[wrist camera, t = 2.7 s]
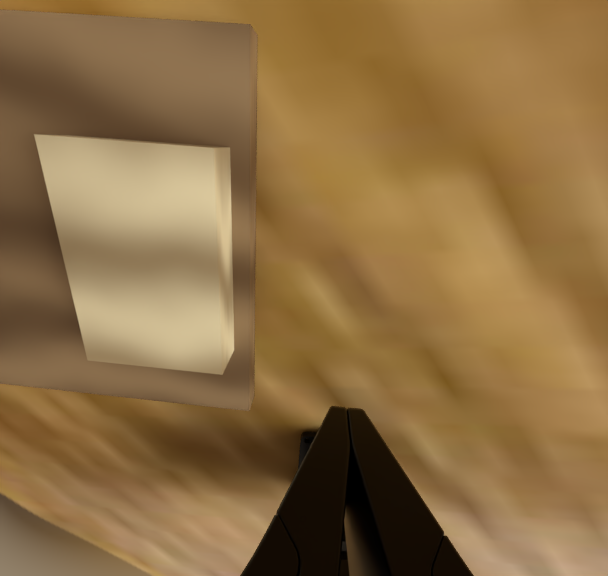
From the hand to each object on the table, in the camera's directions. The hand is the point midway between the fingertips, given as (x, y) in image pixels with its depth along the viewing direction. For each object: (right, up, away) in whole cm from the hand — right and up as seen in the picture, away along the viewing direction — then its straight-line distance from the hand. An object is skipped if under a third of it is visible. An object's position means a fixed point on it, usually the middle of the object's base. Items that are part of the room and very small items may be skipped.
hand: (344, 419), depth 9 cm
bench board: (-15, +7, +12) cm, 20 cm away
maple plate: (-9, +5, +10) cm, 15 cm away
